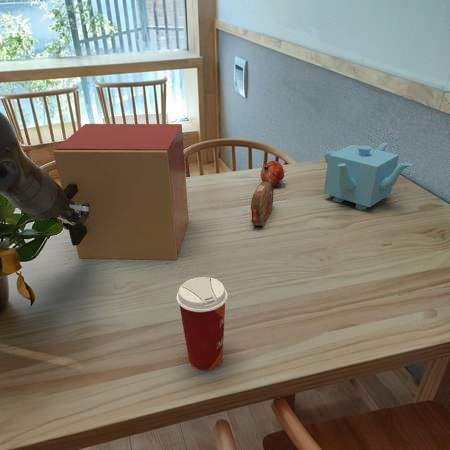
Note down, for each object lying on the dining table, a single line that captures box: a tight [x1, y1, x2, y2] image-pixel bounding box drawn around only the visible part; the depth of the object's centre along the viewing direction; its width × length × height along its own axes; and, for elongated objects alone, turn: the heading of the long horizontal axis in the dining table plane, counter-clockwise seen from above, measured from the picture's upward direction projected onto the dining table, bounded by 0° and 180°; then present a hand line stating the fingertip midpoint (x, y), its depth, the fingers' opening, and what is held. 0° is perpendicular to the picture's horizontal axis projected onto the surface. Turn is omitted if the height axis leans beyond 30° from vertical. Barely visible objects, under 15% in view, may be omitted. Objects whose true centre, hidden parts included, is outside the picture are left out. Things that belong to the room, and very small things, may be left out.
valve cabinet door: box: [52, 149, 178, 261], centre depth 91 cm, size 7×22×24 cm, turn 86°
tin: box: [250, 181, 274, 227], centre depth 114 cm, size 15×3×8 cm, turn 163°
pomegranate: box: [259, 160, 285, 188], centre depth 133 cm, size 7×7×10 cm
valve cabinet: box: [55, 123, 190, 259], centre depth 102 cm, size 18×22×24 cm
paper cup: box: [175, 276, 229, 371], centre depth 70 cm, size 8×8×14 cm
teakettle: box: [323, 141, 414, 211], centre depth 120 cm, size 19×19×15 cm
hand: (73, 225), depth 92 cm, fingers closed on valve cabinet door
